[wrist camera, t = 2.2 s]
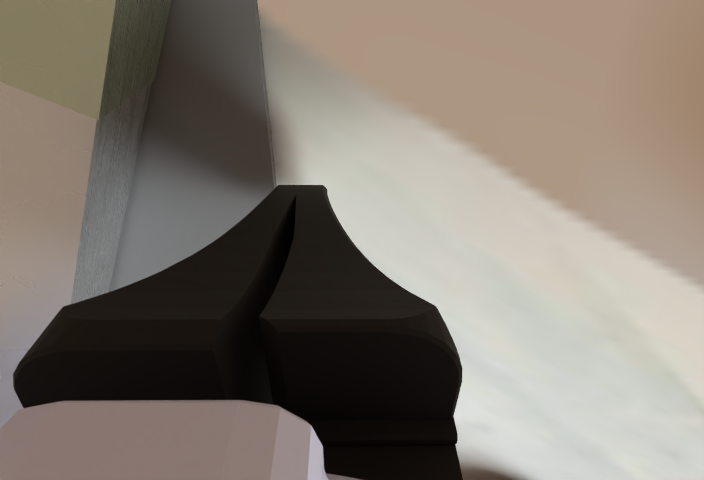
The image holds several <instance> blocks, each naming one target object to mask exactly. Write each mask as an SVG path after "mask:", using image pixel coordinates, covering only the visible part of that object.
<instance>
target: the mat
mask: <svg viewBox="0 0 704 480" xmlns="http://www.w3.org/2000/svg"><path fill="white" fill-rule="evenodd" d="M275 188H276V179H275V169H274V160H273V150H272V140H271V131H270V121H269V111H268V102H267V92H266V82H265V73H264V63H263V53H262V44H261V34H260V24H259V15H258V5H257V0H172V1H171V6H170V10H169V15H168V20H167V25H166V30H165V34H164V39H163V44H162V49H161V53H160V58H159V63H158V68H157V73H156V77H155V80H154V81H153V82H152V84H151V88H150V93H149V98H148V103H147V108H146V113H145V118H144V122H143V127H142V132H141V137H140V142H139V147H138V152H137V157H136V161H135V166H134V171H133V176H132V181H131V186H130V191H129V196H128V200H127V205H126V210H125V215H124V220H123V225H122V230H121V235H120V239H119V244H118V249H117V254H116V259H115V264H114V269H113V274H112V278H111V283H110V288H109V292H111V291H114V290H116V289H119V288H122V287H125V286H127V285H130V284H132V283H135V282H137V281H140V280H142V279H144V278H147V277H149V276H151V275H153V274H156V273H158V272H160V271H162V270H164V269H166V268H168V267H170V266H172V265H174V264H176V263H178V262H180V261H182V260H183V259H185V258H187V257H189V256H191V255H193V254H195V253H196V252H198V251H199V250H201V249H203V248H204V247H206V246H207V245H209V244H210V243H212V242H213V241H215V240H216V239H218V238H219V237H221V236H222V235H223V234H225V233H226V232H227V231H228V230H230V229H231V228H232V227H233V226H235V225H236V224H237V223H238V222H239V221H241V220H242V219H243V218H244V217H245V216H247V215H248V214H249V213H250V212H251V211H252V210H253V209H254V208H255V207H256V206H257V205H258V204H259V203H260V202H261V201H262V200H263V199H264V198H265V197H266V196H267V195H268V194H270V193H271V192H272V191H273V190H274V189H275Z"/></svg>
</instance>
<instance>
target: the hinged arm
mask: <svg viewBox="0 0 704 480" xmlns="http://www.w3.org/2000/svg"><path fill="white" fill-rule="evenodd" d="M171 1H172V0H0V429H1V428H2V426H3V425H4V424H5V423H6V422H7V421H8V420H9V419H10V418H11V417H12V416H13V415H14V414H15V413H16V412H17V411H18V410H20V409H24V408H23V406H22V405H21V403H20V401H19V398H18V396H17V394H16V392H15V390H14V388H13V373H14V371H15V370H16V368H17V366H18V364H19V362H20V361H21V359H22V358H23V357H24V356H25V354H26V353H27V352H28V350H29V349H30V348H31V347H32V345H33V344H34V343H35V341H36V340H37V339H38V338H39V336H40V335H41V334H42V332H43V331H44V330H45V329H46V327H47V326H48V325H49V323H50V322H51V321H52V320H53V318H54V317H55V316H56V315H57V313H58V312H59V311H60V310H61V309H62V307H63V306H67V305H70V304H74V303H77V302H80V301H83V300H86V299H89V298H92V297H95V296H98V295H102V294H105V293H108V292H109V288H110V283H111V278H112V274H113V269H114V264H115V259H116V254H117V249H118V244H119V239H120V235H121V230H122V225H123V220H124V215H125V210H126V205H127V200H128V196H129V191H130V186H131V181H132V176H133V171H134V166H135V161H136V157H137V152H138V147H139V142H140V137H141V132H142V127H143V122H144V118H145V113H146V108H147V103H148V98H149V93H150V88H151V84H152V82H153V81H154V80H155V77H156V73H157V68H158V63H159V58H160V53H161V49H162V44H163V39H164V34H165V30H166V25H167V20H168V15H169V10H170V6H171Z"/></svg>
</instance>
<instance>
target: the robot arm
mask: <svg viewBox="0 0 704 480" xmlns="http://www.w3.org/2000/svg"><path fill="white" fill-rule="evenodd" d="M461 383H462V366H461V362H460V358H459V355H458V352H457V349H456V346H455V344H454V342H453V339H452V337H451V335H450V333H449V330H448V328H447V326H446V324H445V322H444V320H443V318H442V316H441V315H440V313H439V311H438V309H437V308H436V307H435V306H434V305H432V304H431V303H429V302H427V301H425V300H423V299H421V298H420V297H418V296H416V295H414V294H412V293H410V292H409V291H407V290H405V289H404V288H402V287H401V286H399V285H398V284H396V283H395V282H393V281H392V280H390V279H389V278H388V277H387V276H385V275H384V274H383V273H382V272H381V271H379V270H378V269H377V268H376V267H375V266H374V265H373V264H372V263H371V262H370V261H369V260H368V259H367V258H366V257H365V256H364V255H363V254H362V253H361V252H360V251H359V249H358V248H357V247H356V246H355V245H354V243H353V242H352V241H351V239H350V238H349V236H348V235H347V233H346V232H345V231H344V229H343V227H342V226H341V224H340V222H339V221H338V219H337V217H336V215H335V213H334V211H333V209H332V207H331V204H330V202H329V199H328V195H327V189H326V188H325V187H324V186H323V185H278V186H277V187H276V188H275V189H274V190H273V191H272V192H271V193H270V194H268V195H267V196H266V197H265V198H264V199H263V200H262V201H261V202H260V203H259V204H258V205H257V206H256V207H255V208H254V209H253V210H252V211H251V212H250V213H249V214H248V215H247V216H245V217H244V218H243V219H242V220H241V221H239V222H238V223H237V224H236V225H235V226H233V227H232V228H231V229H230V230H228V231H227V232H226V233H225V234H223V235H222V236H221V237H219V238H218V239H216V240H215V241H213V242H212V243H210V244H209V245H207V246H206V247H204V248H203V249H201V250H199V251H198V252H196V253H195V254H193V255H191V256H189V257H187V258H185V259H183V260H182V261H180V262H178V263H176V264H174V265H172V266H170V267H168V268H166V269H164V270H162V271H160V272H158V273H156V274H153V275H151V276H149V277H147V278H144V279H142V280H140V281H137V282H135V283H132V284H130V285H127V286H125V287H122V288H119V289H116V290H114V291H111V292H108V293H105V294H102V295H98V296H95V297H92V298H89V299H86V300H83V301H80V302H77V303H74V304H70V305H67V306H63V307H62V309H61V310H60V311H59V312H58V313H57V315H56V316H55V317H54V318H53V320H52V321H51V322H50V323H49V325H48V326H47V327H46V329H45V330H44V331H43V332H42V334H41V335H40V336H39V338H38V339H37V340H36V341H35V343H34V344H33V345H32V347H31V348H30V349H29V350H28V352H27V353H26V354H25V356H24V357H23V358H22V359H21V361H20V362H19V364H18V366H17V368H16V370H15V371H14V373H13V388H14V390H15V392H16V394H17V396H18V398H19V401H20V403H21V405H22V406H23V408H24V409H20V410H18V411H17V412H16V413H15V414H14V415H13V416H12V417H11V418H10V419H9V420H8V421H7V422H6V423H5V424H4V425H3V426H2V428H1V429H0V480H463V478H462V474H461V469H460V464H459V460H458V455H457V451H456V446H455V444H456V443H457V431H456V426H455V422H454V417H453V415H454V411H455V407H456V403H457V399H458V395H459V391H460V387H461Z"/></svg>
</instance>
